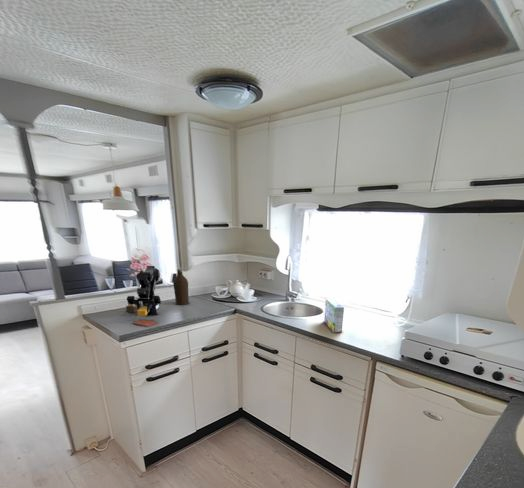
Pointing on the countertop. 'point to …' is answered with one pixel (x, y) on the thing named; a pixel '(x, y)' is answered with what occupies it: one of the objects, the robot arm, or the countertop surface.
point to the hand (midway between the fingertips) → (143, 312)
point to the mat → (145, 323)
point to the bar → (142, 311)
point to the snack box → (334, 315)
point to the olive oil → (181, 289)
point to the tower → (132, 308)
